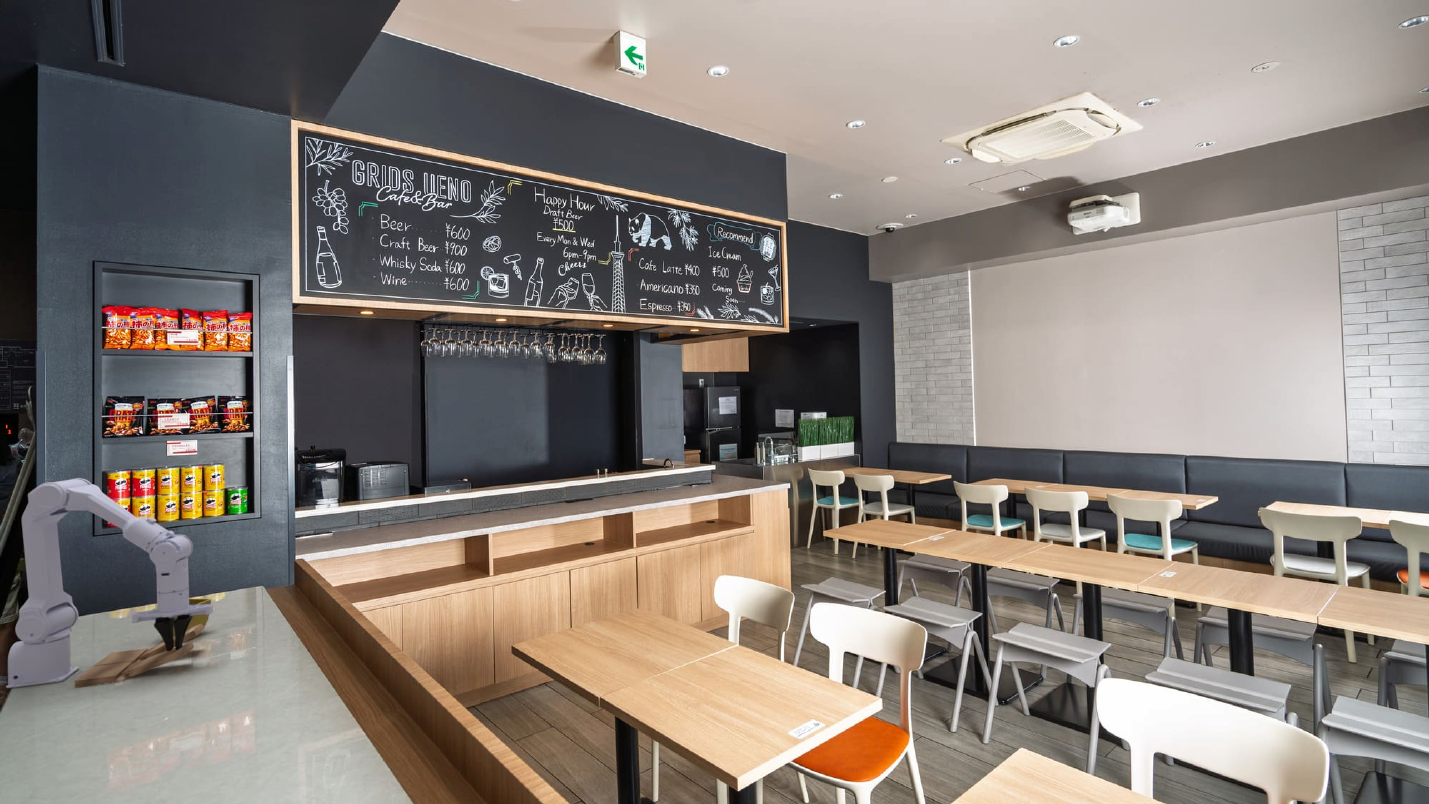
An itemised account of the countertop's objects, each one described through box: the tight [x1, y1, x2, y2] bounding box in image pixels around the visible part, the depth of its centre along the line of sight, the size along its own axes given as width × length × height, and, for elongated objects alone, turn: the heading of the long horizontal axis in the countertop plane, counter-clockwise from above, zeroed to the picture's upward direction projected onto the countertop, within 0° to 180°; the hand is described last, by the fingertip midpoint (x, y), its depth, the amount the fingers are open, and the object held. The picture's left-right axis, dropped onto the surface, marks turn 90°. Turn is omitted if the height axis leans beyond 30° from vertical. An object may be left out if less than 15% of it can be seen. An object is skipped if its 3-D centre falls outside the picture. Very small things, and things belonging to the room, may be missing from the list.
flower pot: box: [152, 598, 212, 637], centre depth 177 cm, size 9×9×9 cm
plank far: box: [139, 623, 205, 660], centre depth 164 cm, size 12×6×2 cm, turn 112°
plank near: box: [122, 641, 195, 677], centre depth 155 cm, size 12×6×2 cm, turn 112°
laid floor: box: [74, 647, 149, 689], centre depth 156 cm, size 8×18×2 cm, turn 23°
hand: (174, 649), depth 156 cm, fingers closed
